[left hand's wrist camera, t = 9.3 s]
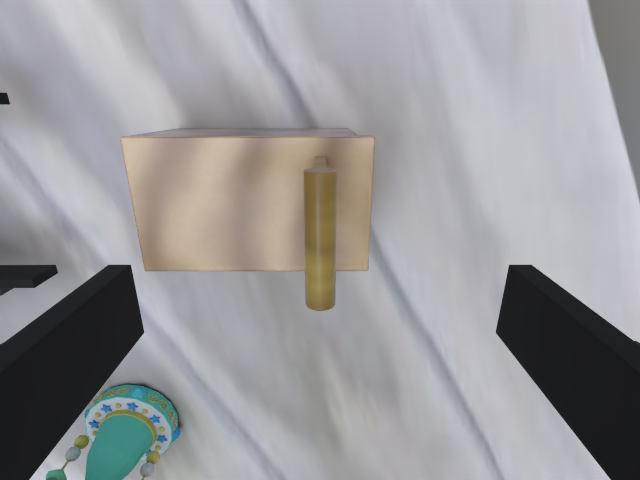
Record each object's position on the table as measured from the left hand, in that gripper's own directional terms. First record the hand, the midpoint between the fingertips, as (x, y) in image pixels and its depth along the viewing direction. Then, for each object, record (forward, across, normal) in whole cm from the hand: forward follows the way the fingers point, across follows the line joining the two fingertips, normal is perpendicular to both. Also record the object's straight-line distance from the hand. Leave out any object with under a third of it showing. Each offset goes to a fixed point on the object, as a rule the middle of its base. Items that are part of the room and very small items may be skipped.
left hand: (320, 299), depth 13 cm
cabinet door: (+13, +5, 0) cm, 14 cm away
